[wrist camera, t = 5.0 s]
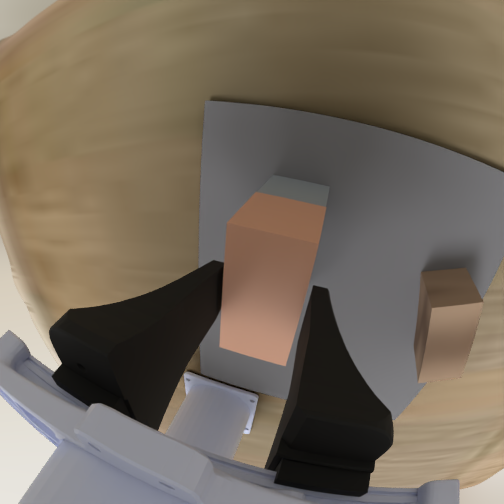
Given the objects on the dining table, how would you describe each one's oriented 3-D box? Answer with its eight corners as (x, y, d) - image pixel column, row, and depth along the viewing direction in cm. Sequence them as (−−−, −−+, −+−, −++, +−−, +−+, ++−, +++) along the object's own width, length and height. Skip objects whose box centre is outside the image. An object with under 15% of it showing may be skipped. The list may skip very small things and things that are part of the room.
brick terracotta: (299, 317, 16) (285, 366, 13) (243, 302, 17) (219, 347, 14) (326, 207, 13) (318, 244, 10) (256, 191, 13) (226, 222, 10)
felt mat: (394, 416, 24) (394, 420, 24) (202, 370, 28) (200, 373, 28) (526, 183, 12) (529, 185, 11) (208, 100, 16) (205, 100, 15)
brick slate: (308, 281, 19) (298, 318, 16) (260, 270, 20) (243, 303, 17) (329, 186, 16) (325, 209, 13) (273, 174, 16) (255, 193, 13)
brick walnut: (452, 341, 18) (460, 377, 15) (413, 345, 19) (417, 383, 16) (465, 267, 15) (483, 302, 12) (420, 271, 16) (432, 308, 13)
